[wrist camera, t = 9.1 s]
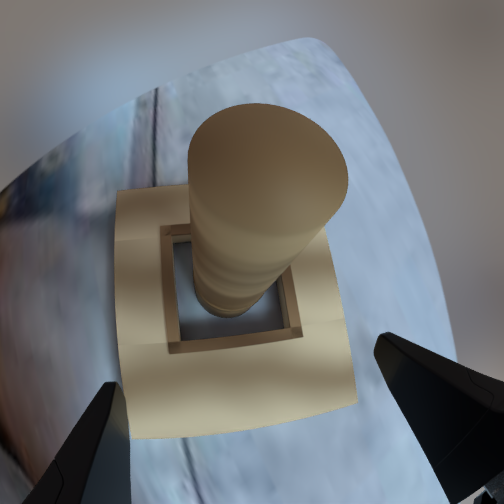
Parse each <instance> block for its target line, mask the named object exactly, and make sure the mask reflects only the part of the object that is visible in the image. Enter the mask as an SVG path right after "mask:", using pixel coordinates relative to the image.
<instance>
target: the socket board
mask: <svg viewBox="0 0 504 504" xmlns="http://www.w3.org/2000/svg"><path fill="white" fill-rule="evenodd" d="M181 242H191V227H190V208H189V186H188V184H184V185H171V186H160V187H149V188H139V189H130V190H121V191H117V200H116V217H115V244H114V283H115V310H116V326H117V339H118V350H119V360H120V369H121V377H122V384H123V391H124V396H125V399H126V406H127V415H128V421H129V426H130V431H131V436H132V439H165V438H182V437H195V436H205V435H214V434H222V433H230V432H237V431H243V430H249V429H255V428H261V427H266V426H271V425H276V424H281V423H286V422H290V421H295V420H299V419H303V418H307V417H311V416H315V415H319V414H322V413H326V412H329V411H333V410H336V409H340V408H343V407H346V406H349V405H353V404H356V403H358V398H357V391H356V384H355V377H354V370H353V364H352V358H351V352H350V346H349V340H348V334H347V329H346V323H345V318H344V313H343V308H342V303H341V298H340V293H339V288H338V284H337V279H336V274H335V270H334V265H333V261H332V257H331V252H330V248H329V244H328V240H327V236H326V232H325V228H324V227H323V228H322V229H321V230H320V231H319V232H318V234H317V235H316V236H315V237H314V238H313V239H312V240H311V241H310V243H309V244H308V245H307V246H306V247H305V248H304V249H303V250H302V252H301V253H300V254H299V255H298V256H297V257H296V258H295V259H294V261H293V262H292V263H291V264H290V265H289V266H288V267H287V268H286V269H285V271H284V272H283V273H282V274H281V275H280V276H279V277H278V278H277V279H276V282H277V288H278V294H279V300H280V306H281V312H282V318H283V324H284V329H279V330H272V331H265V332H258V333H251V334H243V335H235V336H227V337H219V338H209V339H200V340H189V341H181V333H180V324H179V314H178V304H177V293H176V281H175V268H174V253H173V243H181Z"/></svg>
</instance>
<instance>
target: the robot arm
mask: <svg viewBox="0 0 504 504" xmlns="http://www.w3.org/2000/svg"><path fill="white" fill-rule="evenodd" d="M374 357H375V359H376V361H377V364H378V366H379V368H380V370H381V373H382V375H383V377H384V379H385V382H386V384H387V386H388V388H389V390H390V392H391V394H392V395H393V397H394V399H395V400H396V402H397V404H398V406H399V408H400V409H401V411H402V413H403V415H404V416H405V418H406V420H407V422H408V424H409V425H410V427H411V429H412V431H413V433H414V434H415V436H416V438H417V440H418V442H419V444H420V446H421V447H422V449H423V451H424V453H425V455H426V457H427V459H428V461H429V463H430V464H431V466H432V468H433V470H434V472H435V474H436V476H437V478H438V480H439V482H440V484H441V486H442V488H443V490H444V492H445V494H446V496H447V498H448V500H449V502H450V504H458V503H459V502H461V501H462V500H464V499H466V498H467V497H469V496H470V495H471V494H473V493H474V492H476V491H477V490H479V489H480V488H481V487H484V488H485V490H484V491H483V492H482V493H481V494H480V495H479V496H477V497H476V498H475V499H474V504H504V382H503V381H500V380H497V379H494V378H492V377H489V376H486V375H483V374H481V373H479V372H476V371H474V370H472V369H470V368H467V367H465V366H463V365H461V364H458V363H456V362H454V361H452V360H450V359H447V358H445V357H443V356H441V355H439V354H436V353H434V352H432V351H430V350H428V349H425V348H423V347H421V346H419V345H417V344H415V343H412V342H410V341H408V340H406V339H404V338H402V337H399V336H397V335H395V334H393V333H391V332H386V333H382V334H380V335H379V336H378V338H377V341H376V344H375V348H374ZM22 504H131V482H130V439H129V429H128V418H127V406H126V399H125V396H124V394H123V392H122V390H121V388H120V386H119V384H118V383H117V382H115V381H114V382H105V383H104V384H103V385H102V387H101V388H100V390H99V391H98V392H97V394H96V395H95V397H94V398H93V400H92V401H91V403H90V404H89V406H88V407H87V409H86V410H85V412H84V413H83V415H82V416H81V418H80V419H79V421H78V422H77V424H76V425H75V427H74V428H73V430H72V431H71V433H70V434H69V436H68V437H67V439H66V440H65V442H64V444H63V445H62V447H61V448H60V450H59V451H58V453H57V455H56V456H55V460H53V461H52V462H51V464H50V466H49V467H48V469H47V470H46V472H45V473H44V475H43V476H42V478H41V479H40V480H39V482H38V483H37V485H36V486H35V487H34V489H33V490H32V491H31V492H30V494H29V495H28V496H27V497H26V499H25V500H24V501H23V502H22Z"/></svg>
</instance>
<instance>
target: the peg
mask: <svg viewBox="0 0 504 504" xmlns="http://www.w3.org/2000/svg"><path fill="white" fill-rule="evenodd" d="M188 186H189V208H190V227H191V242H192V257H193V280H194V285H195V291H196V296H197V299H198V301H199V302H200V304H201V305H202V307H203V308H204V309H205V310H206V311H208V312H209V313H211V314H212V315H215V316H217V317H221V318H233V317H237V316H239V315H242V314H243V313H245V312H246V311H247V310H249V309H250V307H251V306H252V305H254V304H255V303H256V302H257V301H258V300H259V299H260V298H261V297H262V296H263V294H264V292H265V291H266V290H267V289H268V288H269V287H270V286H271V285H272V284H273V283H274V281H275V280H276V279H277V278H278V277H279V276H280V275H281V274H282V273H283V272H284V271H285V269H286V268H287V267H288V266H289V265H290V264H291V263H292V262H293V261H294V259H295V258H296V257H297V256H298V255H299V254H300V253H301V252H302V250H303V249H304V248H305V247H306V246H307V245H308V244H309V243H310V241H311V240H312V239H313V238H314V237H315V236H316V235H317V234H318V232H319V231H320V230H321V229H322V228H323V227H324V226H325V224H326V223H327V222H328V221H329V220H330V219H331V218H332V216H333V215H334V214H335V213H336V212H337V210H338V209H339V208H340V206H341V205H342V203H343V201H344V199H345V196H346V193H347V188H348V171H347V166H346V163H345V160H344V157H343V155H342V153H341V151H340V149H339V148H338V146H337V144H336V143H335V142H334V140H333V139H332V138H331V137H330V136H329V134H328V133H327V132H326V131H325V130H324V129H322V128H321V127H320V126H319V125H318V124H316V123H315V122H313V121H312V120H310V119H309V118H307V117H305V116H304V115H302V114H300V113H297V112H295V111H293V110H290V109H287V108H284V107H280V106H276V105H270V104H260V103H253V104H242V105H237V106H232V107H229V108H226V109H224V110H221V111H219V112H217V113H215V114H214V115H212V116H211V117H209V118H208V119H207V120H206V121H204V122H203V123H202V124H201V126H200V127H199V128H198V129H197V131H196V132H195V134H194V135H193V137H192V140H191V142H190V146H189V150H188Z"/></svg>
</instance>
